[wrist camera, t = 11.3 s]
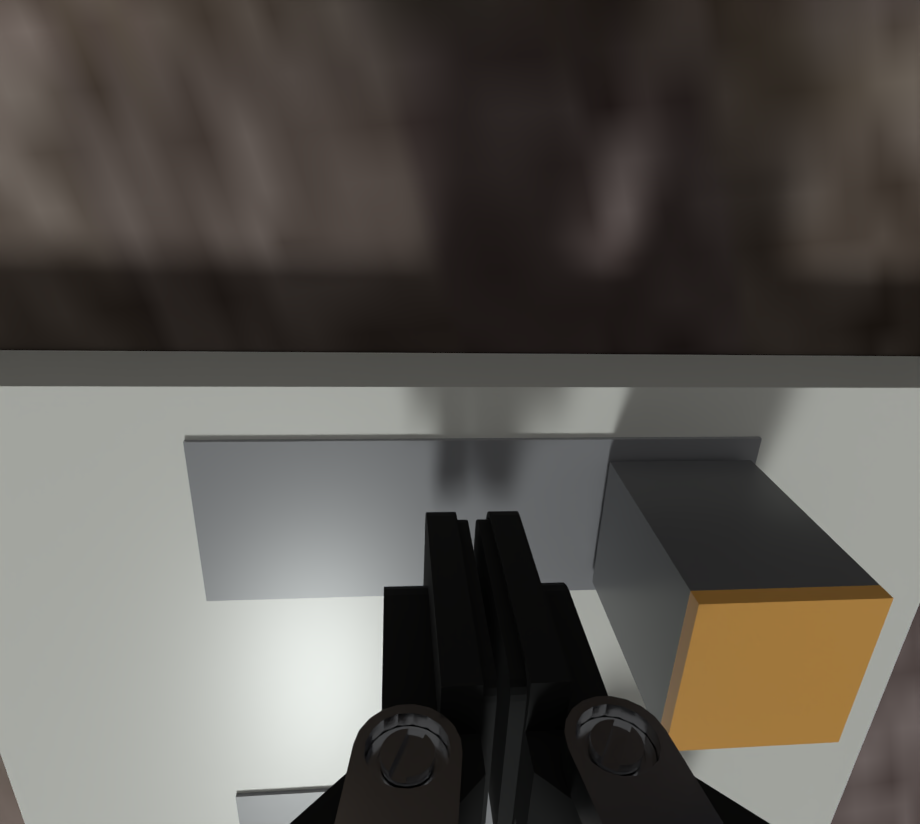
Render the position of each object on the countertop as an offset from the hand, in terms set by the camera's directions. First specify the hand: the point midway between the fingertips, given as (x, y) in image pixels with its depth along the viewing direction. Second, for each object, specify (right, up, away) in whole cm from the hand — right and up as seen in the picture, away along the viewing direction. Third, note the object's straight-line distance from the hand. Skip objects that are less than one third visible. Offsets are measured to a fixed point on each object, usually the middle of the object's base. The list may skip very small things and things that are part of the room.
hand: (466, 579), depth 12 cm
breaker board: (0, -3, +6) cm, 7 cm away
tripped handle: (+4, +1, +2) cm, 5 cm away
